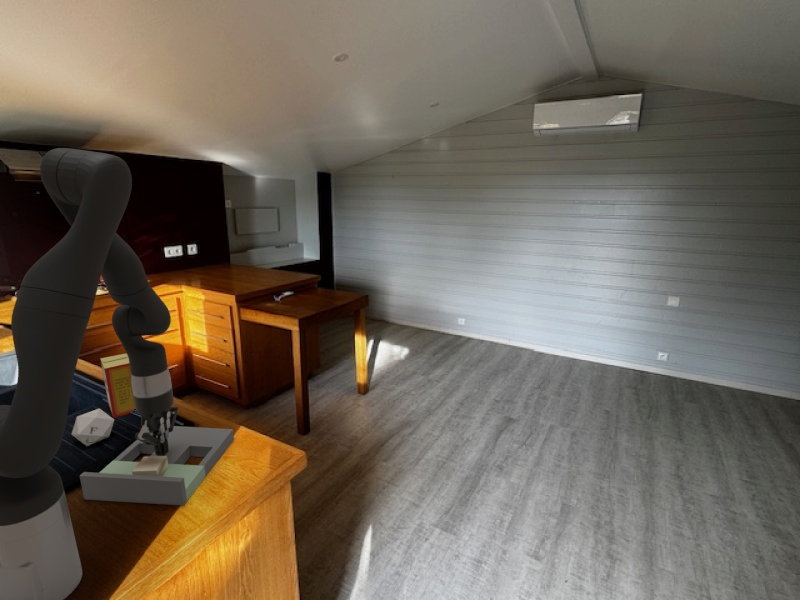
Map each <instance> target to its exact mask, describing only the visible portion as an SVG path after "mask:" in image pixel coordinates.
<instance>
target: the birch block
mask: <svg viewBox="0 0 800 600" xmlns="http://www.w3.org/2000/svg"><path fill="white" fill-rule="evenodd" d="M138 462H139V463H138V465H137V466H136V467H135V468H134V470H133V471H132V474H133V475H144V476H161V477H162V476H163V474H164V473H165V471H166V470H167V469H168V460H167V456H151V455H150V456H143V457H142V459H141V460H140V461H138Z"/></svg>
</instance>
